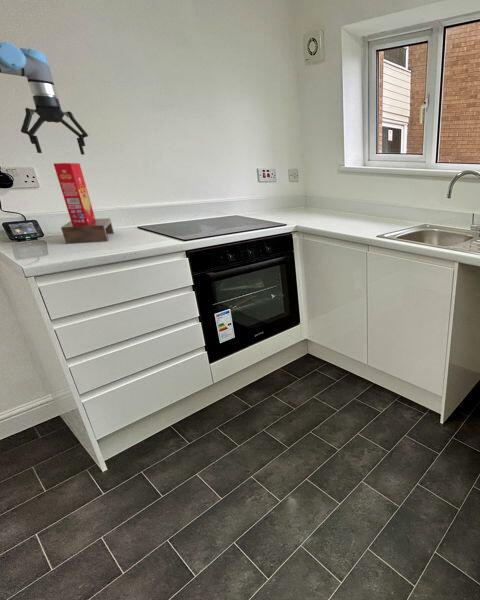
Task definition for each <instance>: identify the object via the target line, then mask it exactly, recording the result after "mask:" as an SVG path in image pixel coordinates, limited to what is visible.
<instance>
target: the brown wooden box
mask: <svg viewBox="0 0 480 600" xmlns="http://www.w3.org/2000/svg"><path fill="white" fill-rule="evenodd" d="M113 227H114V226H113V224H112V220H111V218H110V217H109V218H95V221H93V222H92V223H90V224H89V225H72V222H71V220H70V221H69V222H67V223H65V224H64V225H62V226H61V227H60V229H61V233H62V236H63V239H64V242H65V245H68V244H85V242H86V243H99V242H101V241H102V242H108V241H109V238H108V234H114V233H115V231H114V228H113Z"/></svg>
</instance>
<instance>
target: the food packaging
mask: <svg viewBox="0 0 480 600" xmlns="http://www.w3.org/2000/svg"><path fill="white" fill-rule="evenodd" d="M53 167H54V170H55V173H56V177H57V180H58V184H59V186H60V189H61V193H62V196H63V200H64V203H65V206H66V210H67V212H68V213H67V214H68V216H69V218H70V221H71V222H72V225H89V224H90V223H92V222H93V221H95V219H96V215H95V213H94V210H93V207H92V202H91V198H90V195H89V192H88V187H87V185H86V182H85V177H84V174H83V170H82V167H81V163H78V162H75V163H74V162H56V163H53Z"/></svg>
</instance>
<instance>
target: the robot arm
mask: <svg viewBox="0 0 480 600" xmlns="http://www.w3.org/2000/svg"><path fill="white" fill-rule="evenodd" d="M0 74H4V75H12V76H19V77H25V78H26V80H27V82H28V87H29V90H30V93H31V94H32V100H33V103H34V107H35V109H34V108H29V107H25V108H24V110H25V116H24V118H23V122H22V125H21V129H20V133H23V134H25V135H28V138H29V141H30V143H31V144H32V145H34V146H35V150H36V153H37V154H43V152H42V148H41V145H40V142H39V138H38V135H35V134H36V132H37V131H39V129H40V127H41V126H42V125H43V124H44V123H45V122H46V123H56V124H57V123H58V124H59V123H61V124H62V125H64V126H65V128H67V129H69V131H70V132H72V133H73V134H74V135H76V141H77V145H78V148H79V153H80V155H81V156H85V151H84V147H86V142H85V138H87V137H88V138H89V134H88V133H87V131H86V130H85V129H84V128H83V127H82V125H81V124H80V122H78V121H77V119H76V118H75V116H74V113H73V112H72V111H70V110H68V111H63V110H62V108H61V104H60V100H59V98H58V93H57V89H56V86H55V83H54V79H53V76H52V70H51V65H50V64H49V61H48V58H47V56H46V54H45V53H43V52H42V51H40V50H37V49H32V48H27V47H21V48H19V47H18V46H16V45H14V44H13V43H10V42H7V41H0ZM35 114H37V116H38V118H37V119H36V121H35V122H34V123H33V125H32V126H31V125H30V124H31V121H32V118H33V116H34V115H35ZM64 116H66V117H67V119H68V118H69V119H70V121H71V122H72V123H73V124H74V125H75V127H76V128H77V129H78V130H76V129H75V128H74V126H72V125H71V124H69V123H68V121H66V120H65V119H63V118H64ZM30 126H31V127H30ZM29 128H30V129H29Z"/></svg>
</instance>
